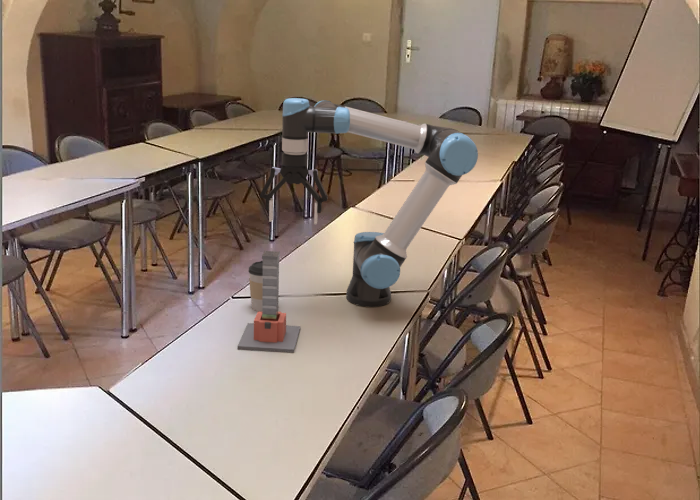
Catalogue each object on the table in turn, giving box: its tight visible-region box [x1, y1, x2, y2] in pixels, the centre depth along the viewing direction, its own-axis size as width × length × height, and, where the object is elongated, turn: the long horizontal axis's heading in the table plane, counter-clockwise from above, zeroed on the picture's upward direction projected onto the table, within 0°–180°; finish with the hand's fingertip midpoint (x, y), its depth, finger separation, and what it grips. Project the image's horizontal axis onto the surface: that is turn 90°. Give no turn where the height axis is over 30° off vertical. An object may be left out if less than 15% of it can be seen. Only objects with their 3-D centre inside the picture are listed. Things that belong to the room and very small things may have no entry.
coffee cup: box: [248, 260, 263, 312], centre depth 229 cm, size 9×9×15 cm
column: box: [261, 250, 281, 319], centre depth 204 cm, size 4×4×19 cm
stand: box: [237, 311, 301, 354], centre depth 208 cm, size 16×16×7 cm
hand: (293, 221), depth 216 cm, fingers open, 13 cm apart
